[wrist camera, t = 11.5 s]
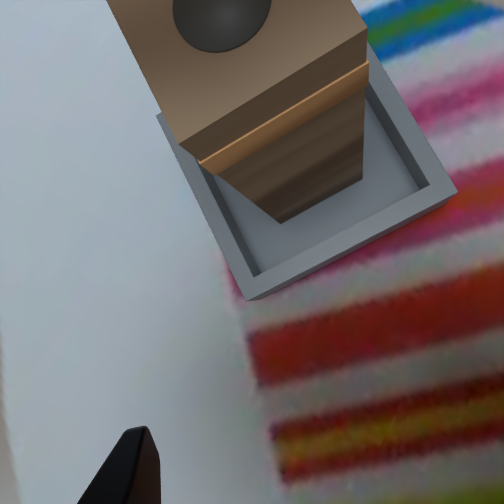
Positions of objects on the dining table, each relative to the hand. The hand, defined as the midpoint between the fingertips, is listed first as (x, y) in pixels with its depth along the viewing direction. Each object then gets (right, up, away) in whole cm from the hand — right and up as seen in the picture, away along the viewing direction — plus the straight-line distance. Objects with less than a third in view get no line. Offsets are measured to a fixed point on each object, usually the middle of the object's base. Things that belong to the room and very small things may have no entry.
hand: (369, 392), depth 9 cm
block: (0, +7, +13) cm, 15 cm away
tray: (0, +7, +14) cm, 16 cm away
